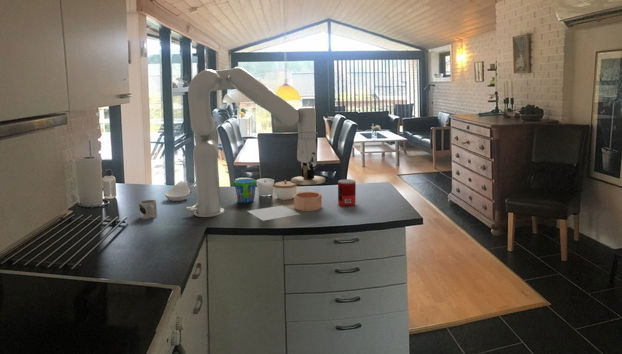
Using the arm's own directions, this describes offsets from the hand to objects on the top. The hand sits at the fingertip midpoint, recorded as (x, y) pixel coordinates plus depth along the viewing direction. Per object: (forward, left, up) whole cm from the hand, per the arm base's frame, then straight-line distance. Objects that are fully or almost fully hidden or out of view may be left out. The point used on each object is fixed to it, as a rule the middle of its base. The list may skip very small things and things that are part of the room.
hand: (308, 177), depth 190 cm
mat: (-17, 0, -14) cm, 22 cm away
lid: (0, 0, -2) cm, 2 cm away
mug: (-63, +22, -14) cm, 68 cm away
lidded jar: (-1, +20, -14) cm, 25 cm away
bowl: (0, 0, -14) cm, 14 cm away
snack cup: (-19, +26, -14) cm, 35 cm away
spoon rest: (-43, +53, -14) cm, 70 cm away
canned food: (+18, -4, -14) cm, 23 cm away
